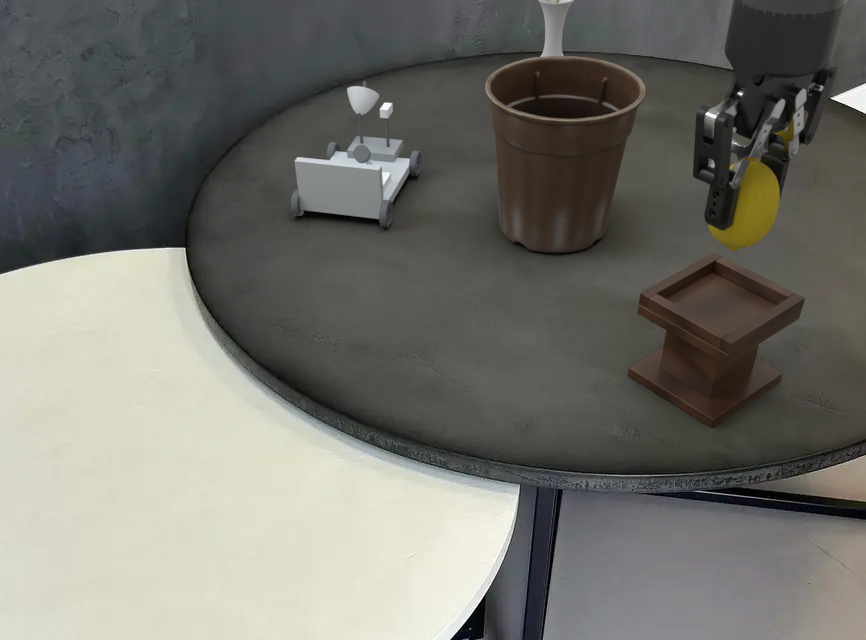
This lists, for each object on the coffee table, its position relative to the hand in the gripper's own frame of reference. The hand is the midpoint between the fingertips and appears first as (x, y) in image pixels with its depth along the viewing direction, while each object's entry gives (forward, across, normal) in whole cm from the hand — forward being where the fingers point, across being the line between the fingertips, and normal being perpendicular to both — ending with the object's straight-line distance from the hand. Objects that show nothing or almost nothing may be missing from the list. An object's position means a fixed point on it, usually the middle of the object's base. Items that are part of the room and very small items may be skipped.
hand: (742, 211), depth 80 cm
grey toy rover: (+17, -2, +51) cm, 54 cm away
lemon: (+4, 0, 0) cm, 4 cm away
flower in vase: (+17, +31, +52) cm, 63 cm away
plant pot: (+17, +9, +29) cm, 35 cm away
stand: (+17, 0, 0) cm, 17 cm away
